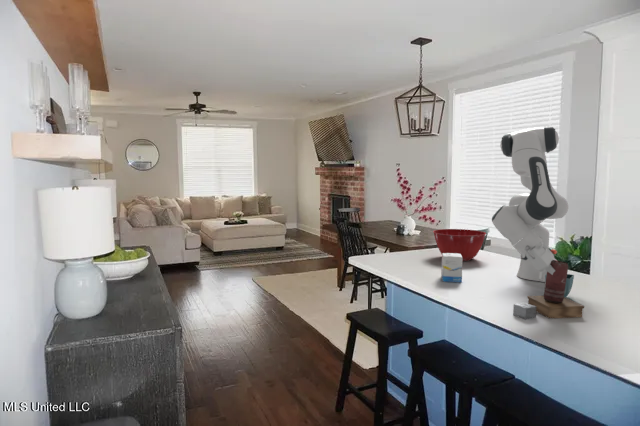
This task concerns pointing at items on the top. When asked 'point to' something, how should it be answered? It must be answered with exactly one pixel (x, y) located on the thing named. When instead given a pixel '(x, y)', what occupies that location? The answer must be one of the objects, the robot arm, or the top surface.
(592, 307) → the top surface
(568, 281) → the flower pot
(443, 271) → the ink box
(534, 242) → the robot arm
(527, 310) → the steel block
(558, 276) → the can
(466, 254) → the mixing bowl
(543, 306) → the stand
